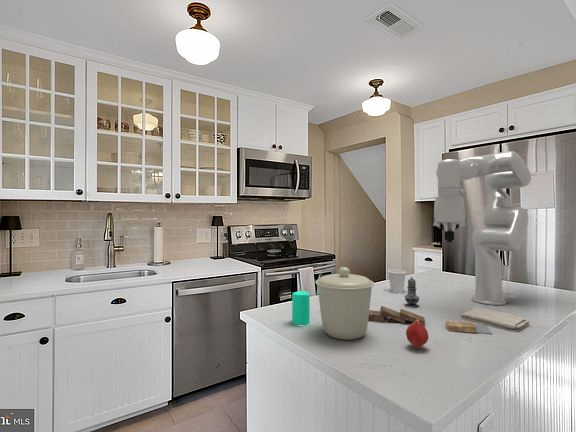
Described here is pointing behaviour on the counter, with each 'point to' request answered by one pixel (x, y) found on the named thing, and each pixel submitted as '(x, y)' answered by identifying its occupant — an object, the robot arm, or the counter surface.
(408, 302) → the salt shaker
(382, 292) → the counter surface
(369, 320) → the domino
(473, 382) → the counter surface
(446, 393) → the counter surface
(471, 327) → the domino
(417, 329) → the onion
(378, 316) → the domino
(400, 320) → the domino
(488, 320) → the washcloth
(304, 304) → the candle
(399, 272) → the dixie cup
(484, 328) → the pad
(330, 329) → the canister
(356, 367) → the counter surface
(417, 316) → the domino
